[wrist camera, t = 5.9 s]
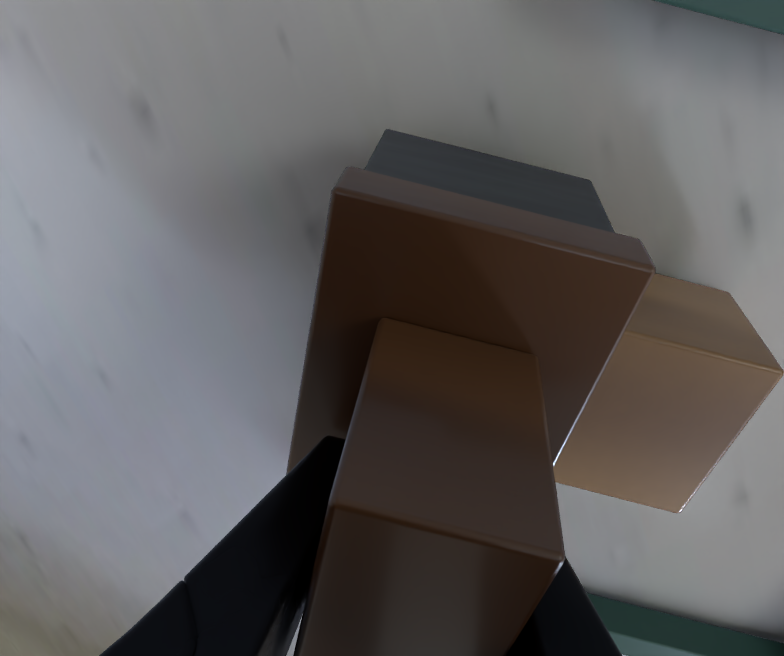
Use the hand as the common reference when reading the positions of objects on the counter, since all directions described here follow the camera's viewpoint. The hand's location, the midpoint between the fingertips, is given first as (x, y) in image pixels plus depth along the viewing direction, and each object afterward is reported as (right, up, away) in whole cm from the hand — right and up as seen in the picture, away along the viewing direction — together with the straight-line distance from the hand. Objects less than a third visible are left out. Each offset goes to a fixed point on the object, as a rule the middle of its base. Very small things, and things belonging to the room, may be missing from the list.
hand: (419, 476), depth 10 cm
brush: (+1, +2, +4) cm, 4 cm away
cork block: (+5, +2, +5) cm, 7 cm away
